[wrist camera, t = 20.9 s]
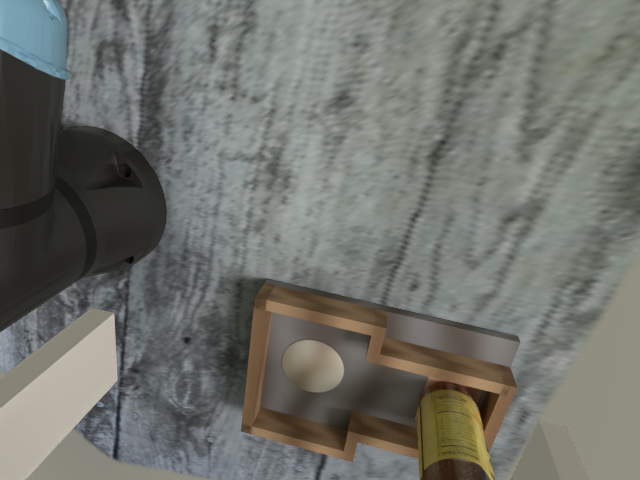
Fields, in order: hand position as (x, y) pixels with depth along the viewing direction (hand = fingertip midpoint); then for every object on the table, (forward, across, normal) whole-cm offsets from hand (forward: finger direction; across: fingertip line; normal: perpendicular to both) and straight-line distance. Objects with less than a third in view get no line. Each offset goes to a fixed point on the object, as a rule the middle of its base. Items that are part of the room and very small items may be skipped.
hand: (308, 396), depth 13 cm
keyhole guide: (+29, +4, -22) cm, 36 cm away
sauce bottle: (+28, +12, -22) cm, 38 cm away
